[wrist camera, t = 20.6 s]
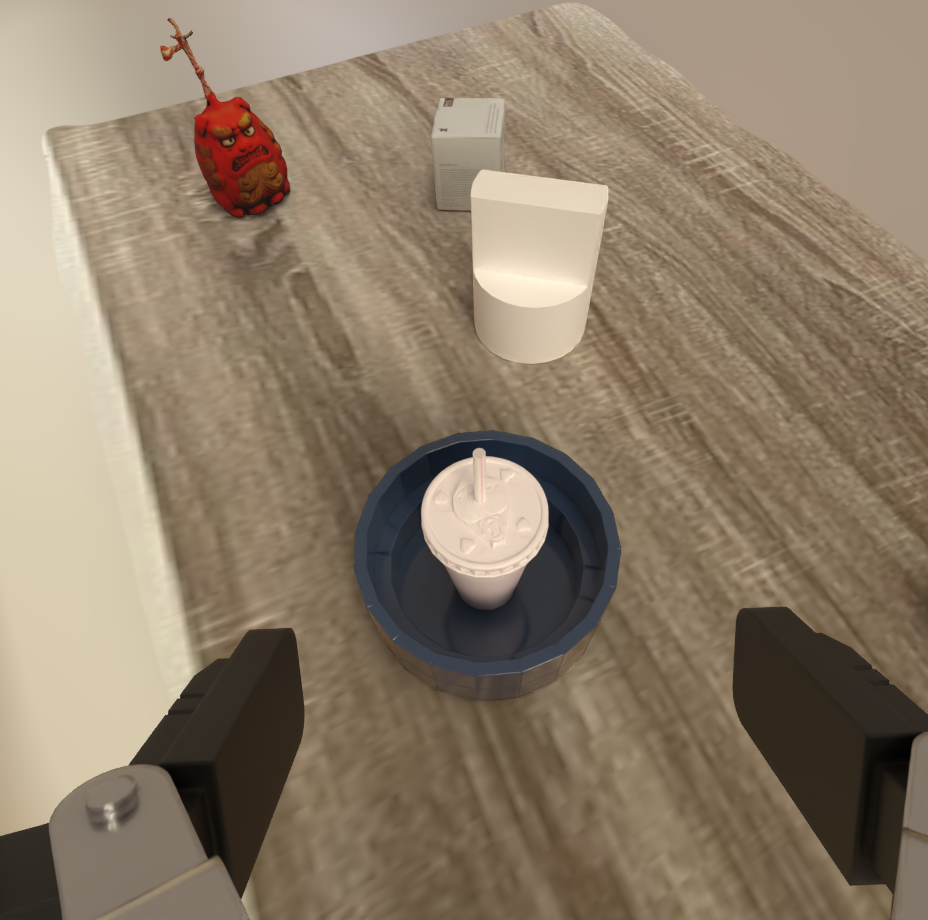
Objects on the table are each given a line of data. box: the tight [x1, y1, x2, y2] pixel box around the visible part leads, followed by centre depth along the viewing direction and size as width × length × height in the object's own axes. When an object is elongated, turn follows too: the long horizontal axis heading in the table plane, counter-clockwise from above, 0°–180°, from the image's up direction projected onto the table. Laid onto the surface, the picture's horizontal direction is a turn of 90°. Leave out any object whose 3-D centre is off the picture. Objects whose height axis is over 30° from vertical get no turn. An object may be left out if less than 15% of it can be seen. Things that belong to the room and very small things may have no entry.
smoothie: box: [421, 448, 549, 610], centre depth 34 cm, size 6×6×14 cm
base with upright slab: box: [471, 169, 608, 364], centre depth 47 cm, size 9×9×12 cm
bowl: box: [354, 430, 621, 700], centre depth 38 cm, size 14×14×6 cm
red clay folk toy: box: [160, 18, 290, 218], centre depth 55 cm, size 8×7×15 cm
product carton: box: [431, 98, 505, 211], centre depth 58 cm, size 6×6×7 cm
